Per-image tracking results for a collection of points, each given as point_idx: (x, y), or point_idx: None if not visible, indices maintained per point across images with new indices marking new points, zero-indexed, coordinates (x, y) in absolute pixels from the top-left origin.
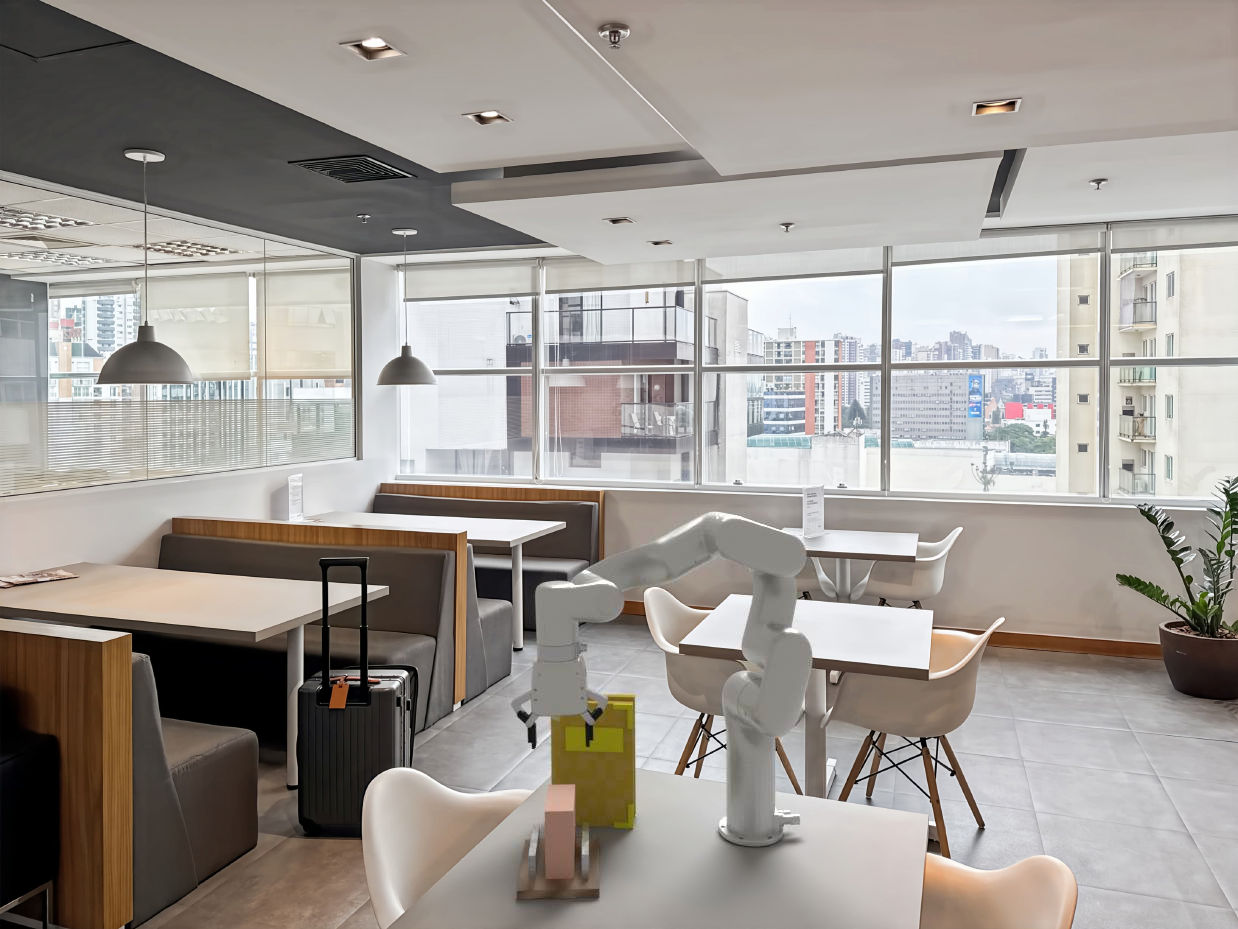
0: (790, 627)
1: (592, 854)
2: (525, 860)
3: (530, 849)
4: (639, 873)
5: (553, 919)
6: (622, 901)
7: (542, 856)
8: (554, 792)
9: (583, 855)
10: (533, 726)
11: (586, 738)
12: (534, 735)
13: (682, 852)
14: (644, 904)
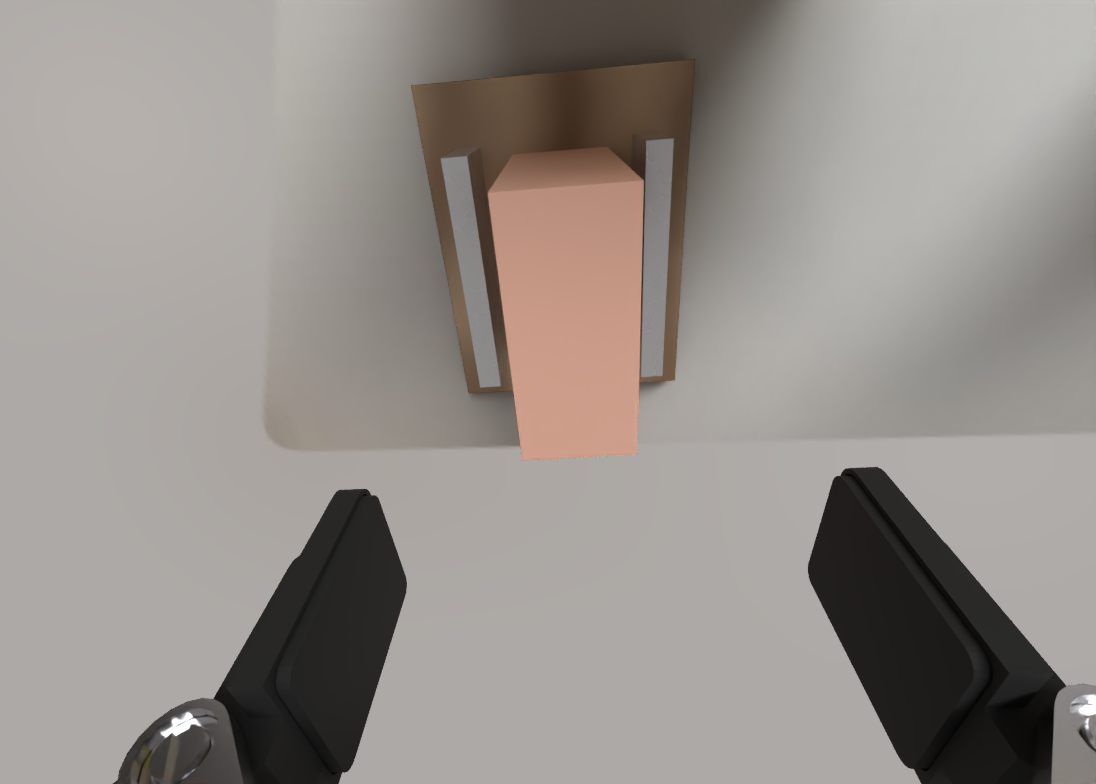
0: None
1: None
2: (452, 243)
3: (477, 353)
4: (794, 254)
5: None
6: (723, 382)
7: None
8: (537, 291)
9: (646, 375)
10: (317, 775)
11: (848, 639)
12: (366, 694)
13: (981, 108)
14: (773, 392)
